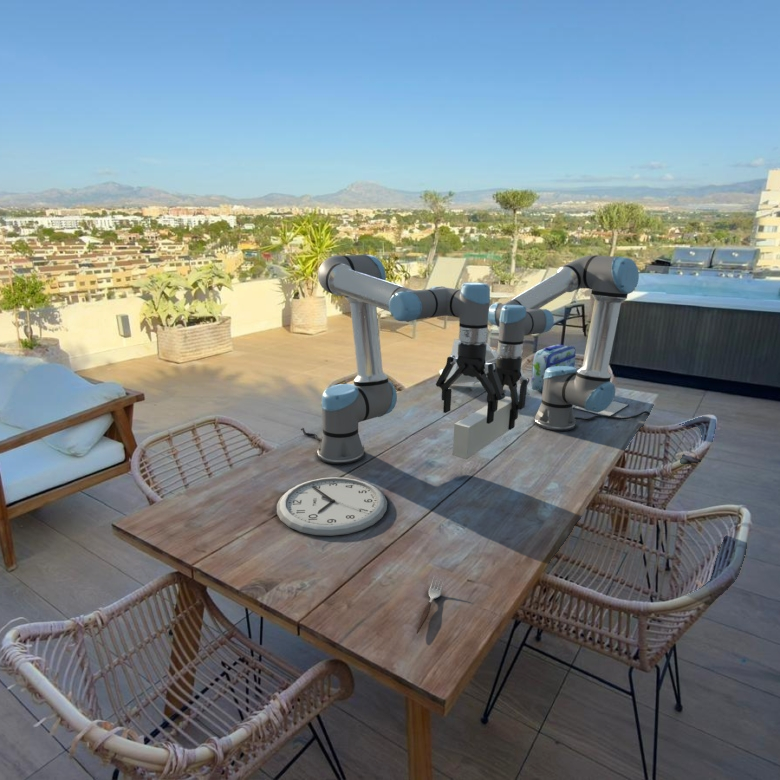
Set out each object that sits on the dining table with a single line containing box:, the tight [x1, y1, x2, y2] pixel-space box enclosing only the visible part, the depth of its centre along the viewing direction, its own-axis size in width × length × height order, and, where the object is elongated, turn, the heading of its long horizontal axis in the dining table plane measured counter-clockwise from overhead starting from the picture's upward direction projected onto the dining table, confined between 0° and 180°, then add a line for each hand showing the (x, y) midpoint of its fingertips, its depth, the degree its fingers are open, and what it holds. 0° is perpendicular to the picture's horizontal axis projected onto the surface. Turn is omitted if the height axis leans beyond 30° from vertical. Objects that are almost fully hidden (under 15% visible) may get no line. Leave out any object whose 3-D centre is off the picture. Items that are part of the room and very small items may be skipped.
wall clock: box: [276, 476, 388, 537], centre depth 142 cm, size 30×2×30 cm
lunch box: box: [530, 344, 577, 392], centre depth 247 cm, size 26×11×21 cm, turn 134°
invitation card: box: [573, 400, 629, 416], centre depth 226 cm, size 21×1×15 cm
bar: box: [452, 395, 516, 460], centre depth 157 cm, size 32×5×10 cm, turn 143°
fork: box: [416, 574, 445, 635], centre depth 104 cm, size 3×16×2 cm, turn 160°
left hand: (467, 416), depth 146 cm, fingers open, 13 cm apart
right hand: (503, 426), depth 168 cm, fingers closed on bar, 5 cm apart
